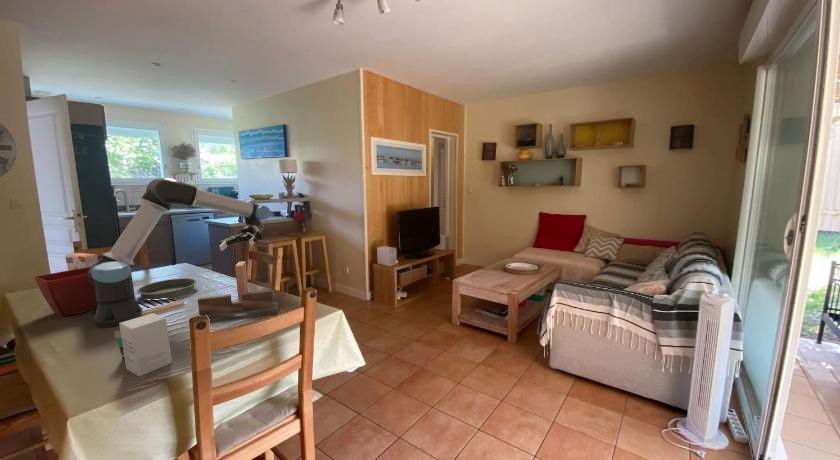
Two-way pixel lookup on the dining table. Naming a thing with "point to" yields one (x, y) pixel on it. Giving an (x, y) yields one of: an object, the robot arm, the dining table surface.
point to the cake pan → (167, 288)
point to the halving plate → (241, 279)
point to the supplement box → (145, 344)
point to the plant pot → (68, 291)
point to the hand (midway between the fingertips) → (235, 245)
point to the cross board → (242, 314)
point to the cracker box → (80, 260)
